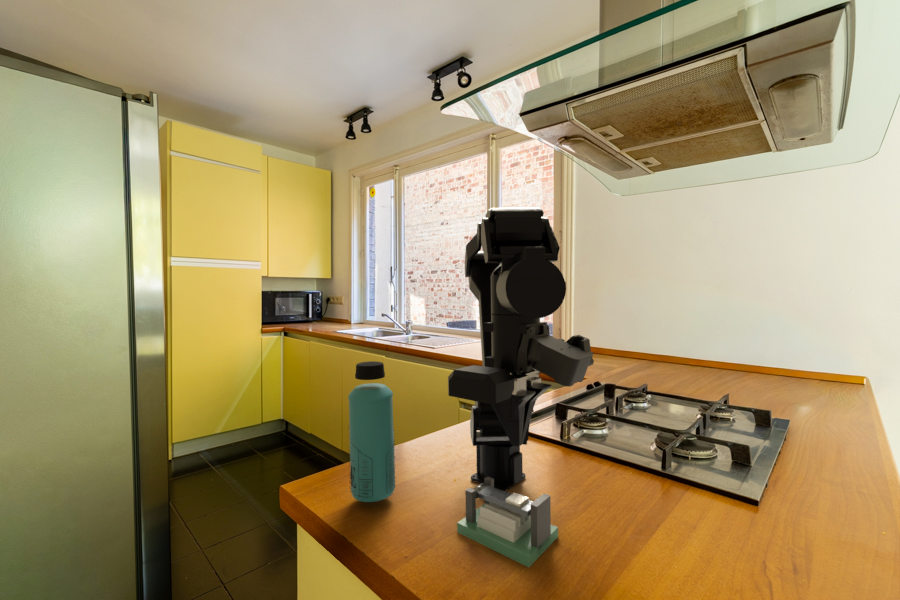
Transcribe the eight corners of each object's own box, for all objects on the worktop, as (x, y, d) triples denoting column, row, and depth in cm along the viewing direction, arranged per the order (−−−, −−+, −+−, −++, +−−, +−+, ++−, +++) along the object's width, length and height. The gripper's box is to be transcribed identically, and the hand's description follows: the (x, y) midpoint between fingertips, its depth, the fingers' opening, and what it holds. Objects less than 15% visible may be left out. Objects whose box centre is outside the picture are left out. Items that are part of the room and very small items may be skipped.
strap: (470, 497, 51) (470, 487, 51) (482, 490, 53) (481, 480, 53) (527, 519, 45) (527, 508, 45) (538, 510, 47) (537, 499, 47)
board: (457, 532, 49) (456, 485, 49) (489, 508, 55) (489, 466, 55) (528, 567, 43) (528, 514, 43) (558, 537, 48) (557, 489, 48)
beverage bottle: (405, 501, 57) (403, 361, 57) (365, 520, 52) (362, 368, 52) (379, 485, 62) (377, 356, 61) (340, 502, 57) (337, 362, 57)
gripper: (538, 320, 35) (540, 497, 35) (611, 312, 49) (613, 438, 49) (443, 317, 42) (445, 464, 42) (531, 310, 56) (532, 420, 57)
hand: (517, 445), depth 48 cm, fingers closed
